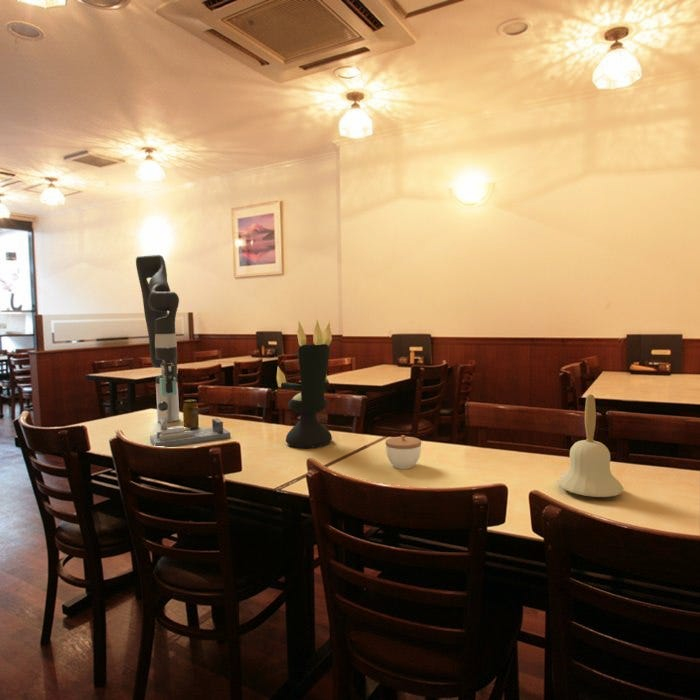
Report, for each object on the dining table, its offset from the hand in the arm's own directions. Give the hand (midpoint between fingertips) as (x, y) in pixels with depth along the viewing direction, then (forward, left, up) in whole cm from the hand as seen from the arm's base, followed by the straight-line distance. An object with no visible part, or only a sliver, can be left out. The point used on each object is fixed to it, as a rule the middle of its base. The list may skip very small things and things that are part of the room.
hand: (168, 391), depth 187 cm
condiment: (-18, +12, -19) cm, 29 cm away
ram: (0, +1, -17) cm, 17 cm away
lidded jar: (+72, +55, -19) cm, 93 cm away
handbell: (+116, +81, -19) cm, 143 cm away
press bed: (0, +7, -19) cm, 20 cm away
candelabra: (+33, +43, -19) cm, 57 cm away
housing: (0, 0, -1) cm, 1 cm away
